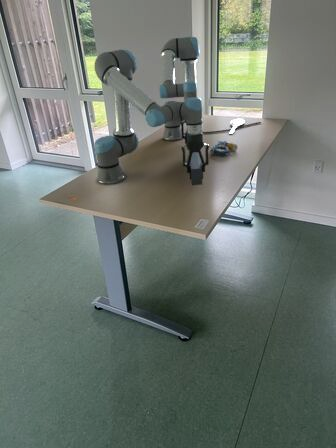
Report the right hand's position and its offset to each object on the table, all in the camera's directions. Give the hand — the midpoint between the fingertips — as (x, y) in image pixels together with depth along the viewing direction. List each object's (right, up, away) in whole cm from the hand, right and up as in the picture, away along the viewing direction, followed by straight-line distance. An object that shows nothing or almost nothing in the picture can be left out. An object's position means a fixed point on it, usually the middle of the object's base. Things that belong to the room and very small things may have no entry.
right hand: (192, 148), depth 208 cm
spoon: (+37, +28, +51) cm, 68 cm away
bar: (0, -13, -19) cm, 23 cm away
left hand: (-1, -24, -39) cm, 46 cm away
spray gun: (+21, -1, +7) cm, 22 cm away
